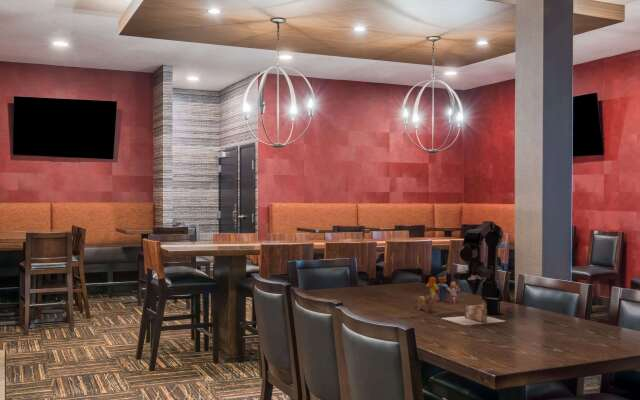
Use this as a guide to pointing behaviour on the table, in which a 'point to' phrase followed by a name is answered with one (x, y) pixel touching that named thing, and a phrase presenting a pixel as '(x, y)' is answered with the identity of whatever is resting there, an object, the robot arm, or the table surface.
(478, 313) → the brown tall flat block
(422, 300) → the lion figurine
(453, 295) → the doll family
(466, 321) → the board
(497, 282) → the robot arm
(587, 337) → the table surface
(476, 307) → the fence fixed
